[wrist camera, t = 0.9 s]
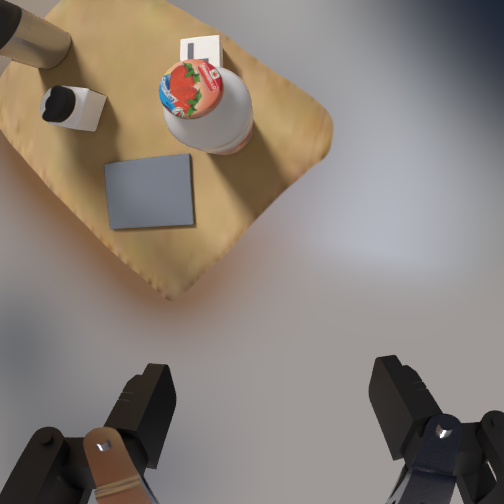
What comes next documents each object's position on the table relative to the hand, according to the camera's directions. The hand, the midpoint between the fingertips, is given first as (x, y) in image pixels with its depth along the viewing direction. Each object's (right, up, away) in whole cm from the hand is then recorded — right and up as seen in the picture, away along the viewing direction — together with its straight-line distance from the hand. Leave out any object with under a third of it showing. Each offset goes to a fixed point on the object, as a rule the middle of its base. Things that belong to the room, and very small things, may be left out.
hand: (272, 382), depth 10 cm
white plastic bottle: (-5, +25, +35) cm, 44 cm away
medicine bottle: (-31, +31, +34) cm, 56 cm away
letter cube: (-9, +37, +32) cm, 49 cm away
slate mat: (-19, +15, +38) cm, 45 cm away
